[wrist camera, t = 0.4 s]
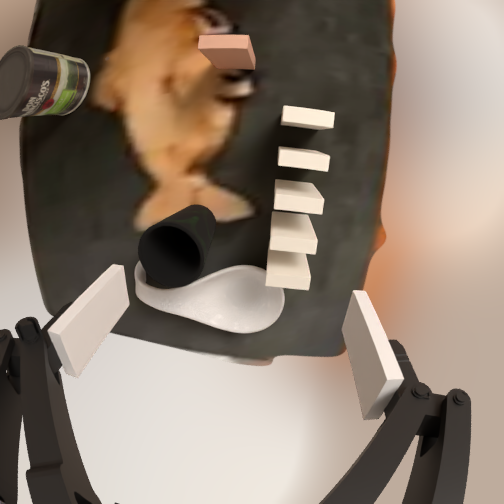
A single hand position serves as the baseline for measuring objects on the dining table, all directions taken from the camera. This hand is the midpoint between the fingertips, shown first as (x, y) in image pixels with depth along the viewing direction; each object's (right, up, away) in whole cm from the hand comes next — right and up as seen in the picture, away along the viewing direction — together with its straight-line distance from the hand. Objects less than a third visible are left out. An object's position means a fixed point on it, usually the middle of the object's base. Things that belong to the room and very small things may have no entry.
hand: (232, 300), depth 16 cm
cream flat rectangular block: (+6, +3, +26) cm, 27 cm away
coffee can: (-29, +30, +18) cm, 45 cm away
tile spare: (-1, +27, +16) cm, 32 cm away
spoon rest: (-6, -2, +30) cm, 30 cm away
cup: (-7, +7, +26) cm, 27 cm away
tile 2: (+7, +15, +21) cm, 27 cm away
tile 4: (+6, +7, +24) cm, 26 cm away
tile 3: (+7, +11, +22) cm, 26 cm away
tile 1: (+7, +20, +19) cm, 28 cm away
